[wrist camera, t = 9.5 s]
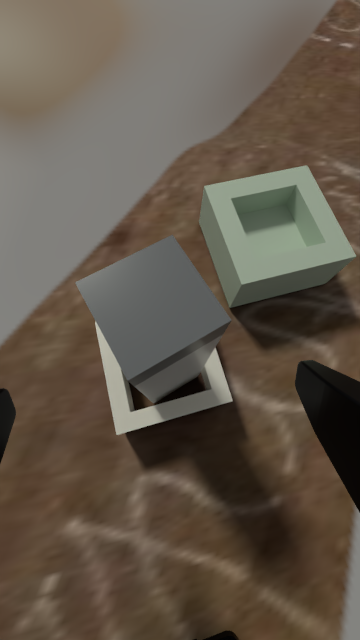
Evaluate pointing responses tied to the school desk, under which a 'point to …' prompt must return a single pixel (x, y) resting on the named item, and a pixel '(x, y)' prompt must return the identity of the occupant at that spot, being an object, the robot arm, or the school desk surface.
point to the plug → (156, 317)
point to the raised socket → (271, 235)
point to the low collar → (133, 420)
